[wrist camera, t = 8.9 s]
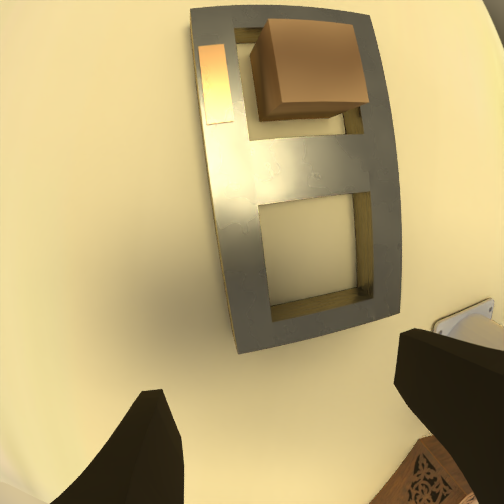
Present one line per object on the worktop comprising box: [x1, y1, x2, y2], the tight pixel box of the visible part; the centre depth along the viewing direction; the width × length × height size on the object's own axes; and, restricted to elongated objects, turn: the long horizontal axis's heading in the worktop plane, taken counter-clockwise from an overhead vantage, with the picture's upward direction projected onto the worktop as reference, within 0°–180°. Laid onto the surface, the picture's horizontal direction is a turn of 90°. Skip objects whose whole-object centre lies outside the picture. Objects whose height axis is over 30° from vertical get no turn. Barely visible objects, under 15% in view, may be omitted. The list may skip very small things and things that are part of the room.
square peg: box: [250, 19, 369, 122], centre depth 13 cm, size 4×4×4 cm
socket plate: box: [190, 5, 402, 354], centre depth 15 cm, size 18×10×2 cm, turn 8°
